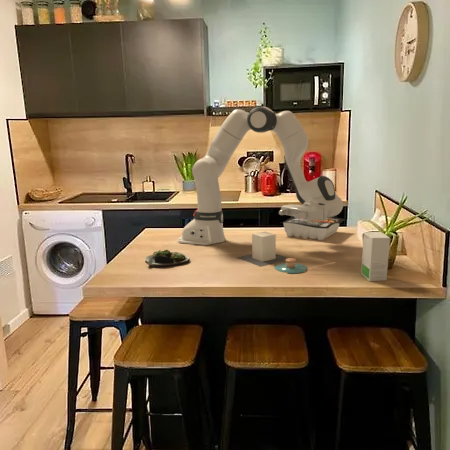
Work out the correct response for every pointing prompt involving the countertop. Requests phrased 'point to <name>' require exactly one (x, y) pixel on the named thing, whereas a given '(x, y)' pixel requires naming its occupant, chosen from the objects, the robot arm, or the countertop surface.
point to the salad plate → (167, 259)
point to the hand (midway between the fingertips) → (287, 214)
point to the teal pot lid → (291, 267)
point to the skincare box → (375, 256)
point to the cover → (263, 246)
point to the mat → (264, 263)
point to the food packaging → (311, 227)
